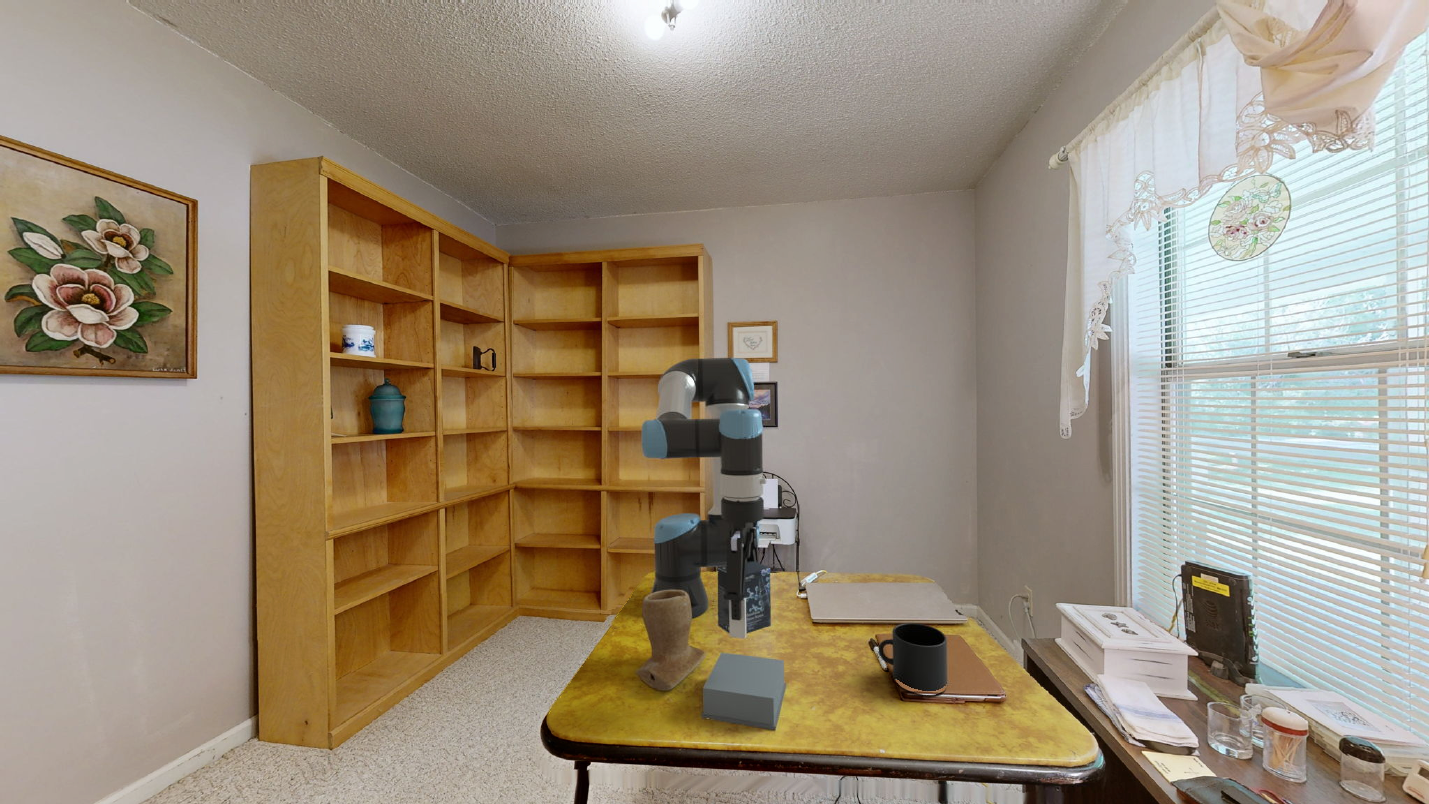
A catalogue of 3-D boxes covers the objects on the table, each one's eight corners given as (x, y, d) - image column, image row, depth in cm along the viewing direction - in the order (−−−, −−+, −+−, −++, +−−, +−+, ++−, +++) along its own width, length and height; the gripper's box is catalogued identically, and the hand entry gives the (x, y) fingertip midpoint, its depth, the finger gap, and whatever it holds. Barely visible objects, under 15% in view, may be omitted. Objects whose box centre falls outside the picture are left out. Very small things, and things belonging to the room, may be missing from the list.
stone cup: (665, 646, 109) (664, 578, 109) (713, 660, 104) (711, 587, 103) (619, 682, 96) (618, 604, 96) (671, 700, 90) (670, 617, 90)
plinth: (720, 677, 97) (720, 651, 97) (786, 686, 94) (785, 659, 94) (701, 717, 85) (700, 688, 85) (775, 730, 82) (775, 699, 82)
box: (736, 639, 84) (734, 576, 84) (717, 626, 89) (716, 567, 89) (772, 626, 89) (771, 566, 89) (752, 615, 94) (751, 558, 93)
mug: (881, 661, 102) (881, 617, 102) (947, 674, 97) (946, 627, 97) (875, 686, 93) (875, 638, 93) (947, 702, 88) (946, 651, 88)
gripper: (750, 511, 77) (752, 657, 77) (773, 486, 98) (775, 601, 99) (703, 509, 79) (706, 651, 79) (735, 485, 100) (738, 597, 101)
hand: (744, 623), depth 89 cm, fingers closed on box, 9 cm apart
